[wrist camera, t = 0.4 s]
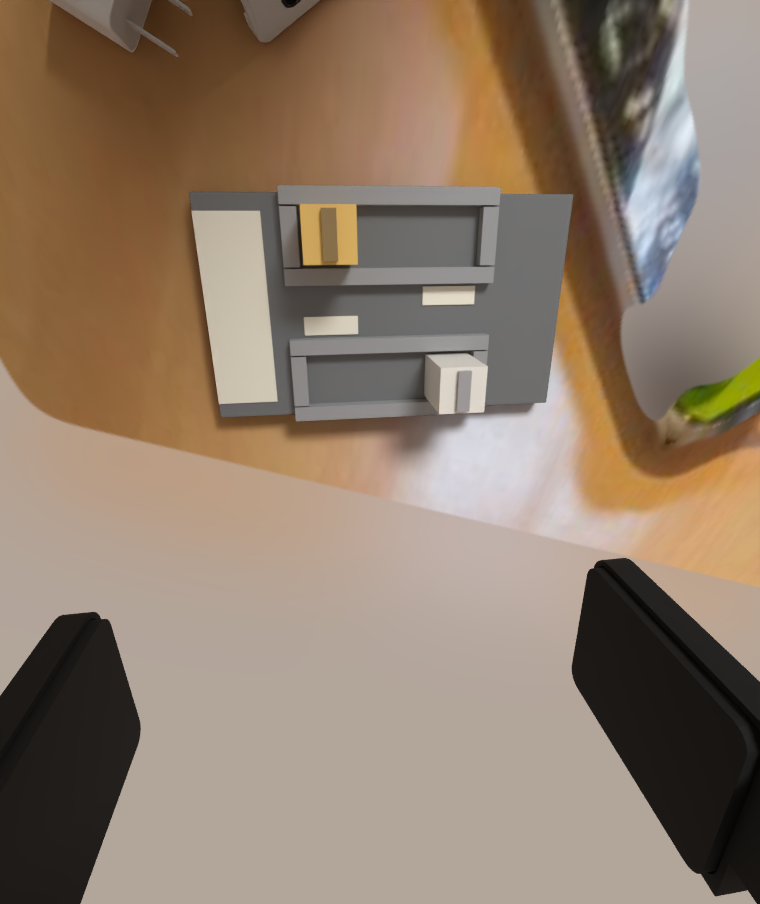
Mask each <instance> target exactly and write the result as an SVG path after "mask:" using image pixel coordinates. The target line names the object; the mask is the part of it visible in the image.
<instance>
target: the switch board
mask: <svg viewBox="0 0 760 904" xmlns="http://www.w3.org/2000/svg"><path fill="white" fill-rule="evenodd" d="M277 189H278V192H189V195H190V202H191V209H192V218H193V225H194V232H195V239H196V246H197V253H198V260H199V267H200V275H201V282H202V289H203V296H204V303H205V310H206V317H207V324H208V331H209V338H210V345H211V352H212V359H213V366H214V373H215V380H216V387H217V394H218V401H219V406H220V413H221V417H239V416H261V415H283V414H295V416H296V421H316V420H337V419H358V418H379V417H400V416H421V415H442V414H438V412H437V411H436V410H435V409H434V407H433V406H432V405H431V403H430V402H429V401H428V400H427V398H426V397H425V396H424V383H425V354H441V353H468V354H470V355H471V356H473V357H474V358H476V359H477V360H479V361H480V362H482V363H483V364H485V365H487V366H488V371H487V383H486V396H485V405H501V404H523V403H544V402H546V398H547V390H548V383H549V375H550V368H551V360H552V352H553V345H554V337H555V330H556V322H557V314H558V307H559V299H560V292H561V284H562V276H563V269H564V261H565V254H566V246H567V238H568V231H569V223H570V216H571V208H572V200H573V194H500V192H501V187H445V186H330V185H277ZM300 204H356V207H357V250H358V265H303V250H302V235H301V219H300ZM478 413H483V412H478ZM457 414H463V413H457Z"/></svg>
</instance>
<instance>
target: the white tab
mask: <svg viewBox="0 0 760 904" xmlns="http://www.w3.org/2000/svg"><path fill="white" fill-rule="evenodd" d="M487 371H488V366H487V365H485V364H483V363H482V362H480V361H479V360H477V359H476V358H474V357H473V356H471V355H470V354H468V353H441V354H425V383H424V396H425V397H426V398H427V400H428V401H429V402H430V403H431V405H432V406H433V407H434V409H435V410H436V411H437V412H438V414H457V413H478V412H484V408H485V396H486V383H487Z"/></svg>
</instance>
